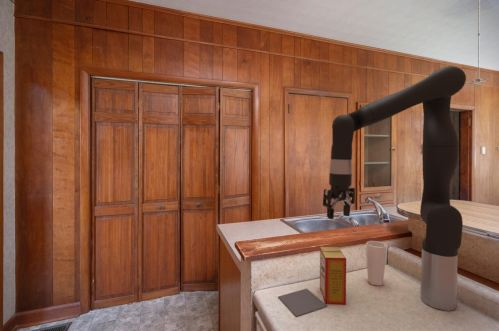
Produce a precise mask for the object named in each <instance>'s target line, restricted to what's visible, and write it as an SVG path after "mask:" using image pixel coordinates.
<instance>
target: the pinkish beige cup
mask: <svg viewBox="0 0 499 331" xmlns="http://www.w3.org/2000/svg"><path fill="white" fill-rule="evenodd" d="M365 245H366V247H365V252H366V253H365V255H366V268H367V270H366V271H367V281H368V283H370V284H371V285H373V286H378V287H380V286H382V285H384V277H385V269H386V260H387V244H385V243H384V242H381V241H378V240H368V241H366V244H365Z"/></svg>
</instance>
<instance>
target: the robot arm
mask: <svg viewBox="0 0 499 331" xmlns="http://www.w3.org/2000/svg"><path fill="white" fill-rule="evenodd" d="M466 80H467V75H466V73H465V71H464V70H463V69H462V68H459V67H458V66H454V65H451V66H450V65H447V66H444V67H440V68H439V69H436V70H435V71H433V72H432V73H431V74H429V75H428V76H426V77H425V78H423V79H422V80H419V81H417V82H416V83H414V84H412V85H410V86H407V87H406V88H404V89H401V90H399V91H396V92H393V93H391V94H389V95H387V96H384V97H381V98H378V99H377V100H374V101H372V102H370V103H367V104H365V105H363V106H360V107H359V108H358V109H356V110H354V111H352V112H350V113H348V114H339V115H337V116H336V117H335V118H334V120H333V121H332V125H331V128H332V129H331V130H332V140H331V141H332V144H331V150H330V163H329V174H328V176H329V177H328V178H329V179H328V180H329V181H328V184H329V186H330V189H327V188H325V189H324V190H323V197H322V206H323V207H325V208H326V209H327V210H326V217H327V219H329V220H333V219H334V216H335V206H336V205H337V204H339V202H341V201H342V204H343V210H342V212H343V214H342V215H343V216H345V217H350V214H351V206H352V205H353V204H354V205H355V202H356V188H355V187H351V186H352V180H353V140H354V134H355V132H356V131H359V130H361V129H363V128H365V127H369V126H372V125H374V124H377V123H379V122H382V121H384V120H387V119H389V118H391V117H393V116H395V115H398V114H400V113H401V112H404V111H405V110H408V109H410V108H412V107H415V106H417V105H420V104H422V112H423V123H422V124H423V126H422V145H421V146H422V151H421V153H422V154H421V155H422V158H421V160H422V183H423V184H422V186H423V187H422V194H421V202H420V210H419V211H420V212H419V214H420V218H421V220H422V221H423V223H425V225H426V226H425V227H426V228H425V238H423V239H422V241H421V267H420V268H421V269H420V270H421V273H420V299H421V301H422V302H424V303H425V304H426V305H427V306H430V307H432V308H434V309H438V310H442V311H449V312H450V311H453V310H456V307H457V306H456V305H457V298H458V297H457V296H458V295H457V293H458V292H457V290H458V259H459V258H458V257H459V256H458V255H459V249H460V248H461V245H462V238H463V237H462V236H463V228H464V227H463V217H462V213H461V212H460V210H458V208H456V207H455V206H453V205H451V198H450V195H451V194H450V188H451V187H450V186H451V181H452V179H453V177H454V174H455V172H456V170H457V166H458V162H459V137H458V134H457V130H456V129H455V125H454V124H453V121H452V116H451V103H452V102H451V100H452V96H455V95H456V94H458V93H459V92H460V91H461V90H462V89H463V87H464V86H465V84H466Z"/></svg>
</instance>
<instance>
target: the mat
mask: <svg viewBox="0 0 499 331" xmlns="http://www.w3.org/2000/svg"><path fill="white" fill-rule="evenodd" d="M277 298H278V299H279V301H280V302H281V303H283V305H284V306H285V307H286V308H287V310H289V312H291V313H292V314H293V316H294V317H295V318H298V317H301V316H305V315H307V314H311V313H314V312H317V311H318V310H319V311H320V310H323V309H325V308H328V304H325V302H324V301H322V300H321V299H320V298H319V297H318V296H317V295H315V294H314V293H313V292H312V291H311V290H310V289H308V288H307V287H306V288H304V289H299V290H296V291H293V292H289V293H286V294H282V295H278V296H277Z"/></svg>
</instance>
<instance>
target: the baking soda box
mask: <svg viewBox="0 0 499 331" xmlns="http://www.w3.org/2000/svg"><path fill="white" fill-rule="evenodd" d="M319 289H320V293H321V295H322V298H323V302H324V303H325V304H326V305H332V306H333V305H334V306H335V305H337V306H346V305H347V257H346V255H345V254H344V252H343V251H342V250H341V248H340V247H339V246H319Z"/></svg>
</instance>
